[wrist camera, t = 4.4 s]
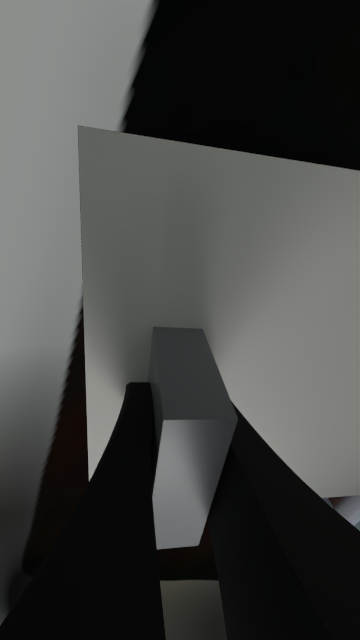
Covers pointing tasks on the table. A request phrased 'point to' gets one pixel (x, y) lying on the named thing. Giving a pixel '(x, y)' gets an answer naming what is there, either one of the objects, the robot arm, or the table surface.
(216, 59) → the table surface
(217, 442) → the carton lid
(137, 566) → the robot arm
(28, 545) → the table surface
